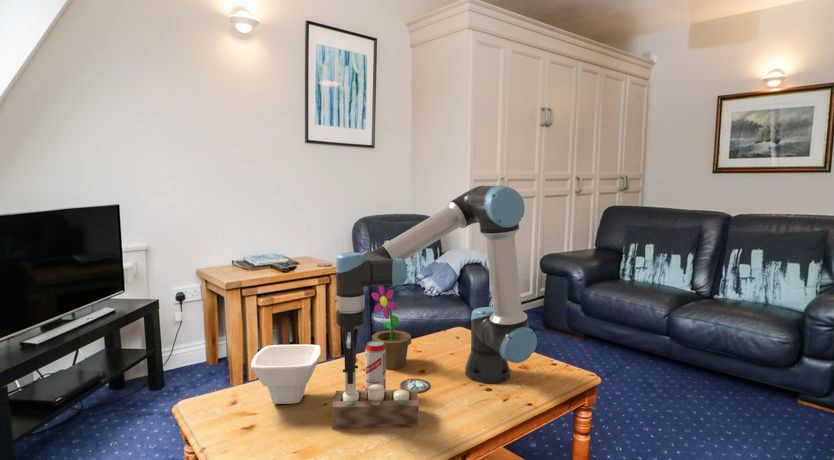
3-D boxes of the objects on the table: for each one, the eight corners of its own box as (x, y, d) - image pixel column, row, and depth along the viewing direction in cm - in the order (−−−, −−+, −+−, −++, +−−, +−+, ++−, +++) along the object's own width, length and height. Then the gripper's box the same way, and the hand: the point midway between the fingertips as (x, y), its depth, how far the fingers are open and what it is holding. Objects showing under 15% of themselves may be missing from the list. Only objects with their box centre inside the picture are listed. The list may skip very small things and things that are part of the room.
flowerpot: (363, 364, 171) (362, 282, 168) (390, 354, 182) (391, 276, 179) (392, 375, 162) (392, 288, 159) (419, 363, 173) (420, 281, 170)
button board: (416, 409, 138) (416, 388, 137) (418, 427, 128) (418, 404, 127) (336, 410, 137) (336, 389, 136) (331, 428, 127) (331, 406, 126)
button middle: (384, 401, 135) (384, 384, 135) (383, 408, 131) (384, 390, 130) (368, 401, 135) (368, 384, 135) (367, 408, 131) (367, 391, 130)
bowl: (316, 414, 135) (316, 366, 133) (246, 416, 133) (245, 367, 132) (325, 386, 153) (324, 343, 152) (263, 387, 152) (262, 344, 150)
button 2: (408, 406, 136) (409, 389, 135) (409, 414, 131) (409, 396, 131) (393, 406, 136) (393, 389, 135) (393, 414, 131) (393, 396, 131)
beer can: (382, 398, 145) (382, 347, 143) (362, 396, 146) (362, 345, 144) (387, 389, 151) (387, 340, 149) (368, 388, 152) (368, 339, 150)
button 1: (359, 407, 135) (359, 390, 135) (358, 414, 131) (358, 397, 130) (343, 407, 135) (343, 390, 134) (342, 415, 130) (342, 397, 130)
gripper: (339, 303, 136) (339, 383, 138) (333, 316, 123) (334, 404, 126) (365, 303, 137) (365, 383, 139) (362, 316, 124) (362, 403, 126)
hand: (350, 393), depth 132 cm, fingers closed
